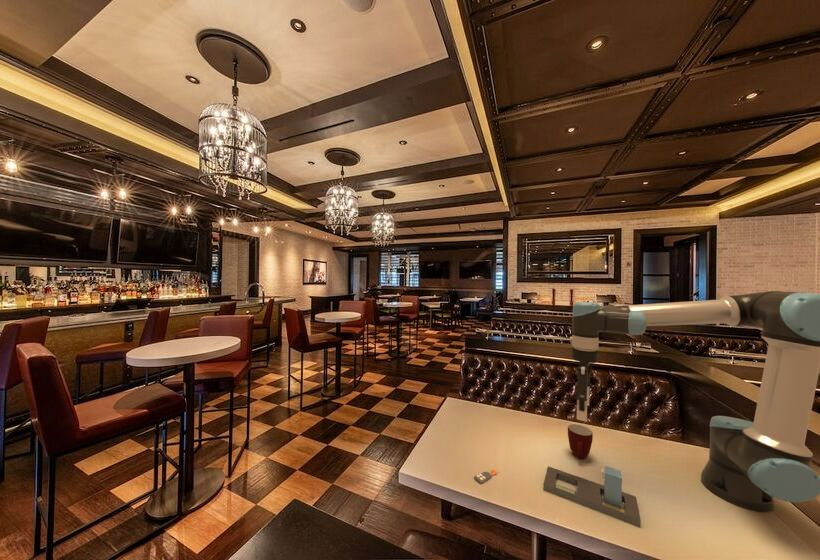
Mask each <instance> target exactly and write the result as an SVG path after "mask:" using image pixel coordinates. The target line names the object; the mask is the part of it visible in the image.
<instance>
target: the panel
mask: <svg viewBox="0 0 820 560" xmlns="http://www.w3.org/2000/svg"><path fill="white" fill-rule="evenodd" d="M545 472H546V473H545V476H544V481H543V491H546V492H548V493H551V494H554V495H556V496H557V497H562V498H563V499H565V500H569V501H571V502H573V503H576V504H578V505H581V506H583V507H587V508H589V509H592V510H594V511H597V512H599V513H602V514H605V515H607V516H610V517H611V518H612V517H613V518H615V519H616V520H617V519H618V520H620V521H623V522H624V523H625V522H626V523H627V524H630V525H632V526H636V527H638V528H641V527H642V526H641V524H642V523H641V521H642V520H641V515H640V510H639V505H638V500H637V496H635V495H633V494H630V493H626V492H624V491H622V501H621V504H623V505H624V508H622V507H621V508H619V507H616V506H614V505H611V504H608V503H606V502H604V500H603V501H602V500H601V496H603V497H604V484H600V483H598V482H594V481H592V480H589V479H586V478H584V477H581V476H578V475H574V474H572V473H569V472H567V471H566V472H565V471H564V470H560V469H557V468H555V467H552V466H549V465H548V466H547V468H546V471H545ZM557 480H559V481H562V482H565V483H568V484H570V485H573V486H576V490H572V489H570V488H567V487H565V486H561V485H559V484H557Z"/></svg>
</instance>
